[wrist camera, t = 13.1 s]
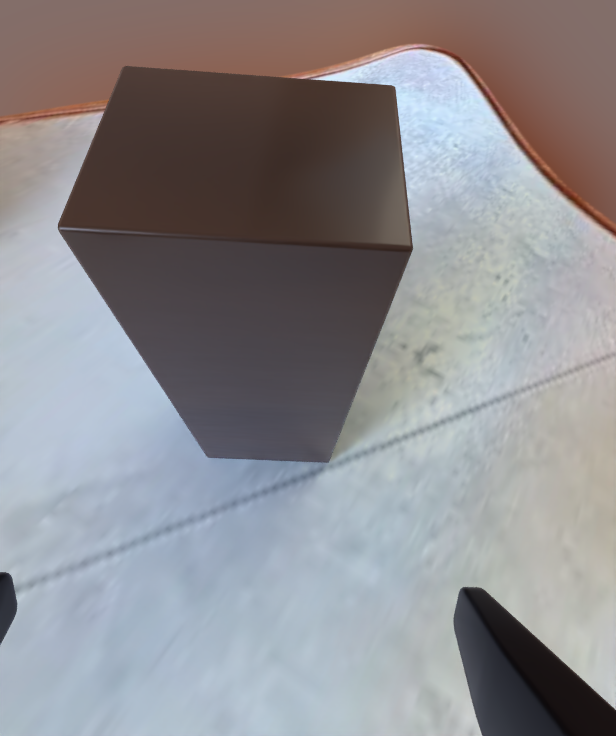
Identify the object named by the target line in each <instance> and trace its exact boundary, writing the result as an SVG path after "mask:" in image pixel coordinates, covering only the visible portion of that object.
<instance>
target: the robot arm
mask: <svg viewBox="0 0 616 736" xmlns="http://www.w3.org/2000/svg"><path fill="white" fill-rule="evenodd" d="M16 611H17V600H16V595H15V590H14V585H13V580H12V577H11V575H10V574H9V573H6V572H0V645H1V643H2V641H3V639H4V637H5V635H6V633H7V631H8V629H9V627H10V625H11V623H12V621H13V619H14V617H15V615H16ZM454 630H455V634H456V638H457V642H458V646H459V650H460V654H461V658H462V662H463V666H464V670H465V674H466V678H467V682H468V686H469V690H470V694H471V699H472V703H473V706H474V710H475V714H476V717H477V720H478V724H479V727H480V730H481V733H482V736H616V710H615V709H614V708H613V707H612V706H611V705H610V704H609V703H608V702H606V701H605V700H604V699H603V698H602V697H601V696H600V695H599V694H598V693H597V692H595V691H594V690H593V689H592V688H591V687H590V686H589V685H588V684H587V683H586V682H585V681H583V680H582V679H581V678H580V677H579V676H578V675H577V674H576V673H575V672H574V671H573V670H571V669H570V668H569V667H568V666H567V665H566V664H565V663H564V662H563V661H562V660H560V659H559V658H558V657H557V656H556V655H555V654H554V653H553V652H552V651H551V650H550V649H548V648H547V647H546V646H545V645H544V644H543V643H542V642H541V641H540V640H539V639H537V638H536V637H535V636H534V635H533V634H532V633H531V632H530V631H529V630H528V629H527V628H525V627H524V626H523V625H522V624H521V623H520V622H519V621H518V620H517V619H516V618H515V617H513V616H512V615H511V614H510V613H509V612H508V611H507V610H506V609H505V608H504V607H502V606H501V605H500V604H499V603H498V602H497V601H496V600H495V599H494V598H493V597H492V596H490V595H489V594H488V593H487V592H486V591H485V590H483V589H482V588H479V587H463V588H461V589H460V591H459V595H458V600H457V604H456V609H455V613H454Z"/></svg>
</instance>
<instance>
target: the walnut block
mask: <svg viewBox="0 0 616 736" xmlns="http://www.w3.org/2000/svg"><path fill="white" fill-rule="evenodd" d="M58 230H59V232H60V234H61V235H62V237H63V238H64V240H65V241H66V243H67V244H68V246H69V247H70V249H71V250H72V252H73V253H74V255H75V256H76V258H77V260H78V261H79V263H80V264H81V266H82V267H83V269H84V270H85V272H86V273H87V275H88V276H89V278H90V279H91V281H92V282H93V284H94V285H95V287H96V288H97V290H98V291H99V293H100V295H101V296H102V298H103V299H104V301H105V302H106V304H107V305H108V307H109V308H110V310H111V311H112V313H113V314H114V316H115V317H116V319H117V320H118V322H119V323H120V325H121V326H122V328H123V330H124V331H125V333H126V334H127V336H128V337H129V339H130V340H131V342H132V343H133V345H134V346H135V348H136V349H137V351H138V352H139V354H140V355H141V357H142V358H143V360H144V361H145V363H146V365H147V366H148V368H149V369H150V371H151V372H152V374H153V375H154V377H155V378H156V380H157V381H158V383H159V384H160V386H161V387H162V389H163V390H164V392H165V393H166V395H167V396H168V398H169V399H170V401H171V403H172V404H173V406H174V407H175V409H176V410H177V412H178V413H179V415H180V416H181V418H182V419H183V421H184V422H185V424H186V425H187V427H188V428H189V430H190V431H191V433H192V434H193V436H194V438H195V439H196V441H197V442H198V444H199V445H200V447H201V448H202V450H203V451H204V453H205V454H206V456H207V457H209V458H232V459H255V460H279V461H302V462H325V463H327V462H329V460H330V458H331V455H332V453H333V450H334V447H335V445H336V442H337V440H338V437H339V435H340V432H341V430H342V427H343V425H344V422H345V420H346V417H347V415H348V412H349V410H350V407H351V404H352V402H353V399H354V397H355V394H356V392H357V389H358V387H359V384H360V382H361V379H362V377H363V374H364V372H365V369H366V367H367V364H368V362H369V359H370V356H371V354H372V351H373V349H374V346H375V344H376V341H377V339H378V336H379V334H380V331H381V329H382V326H383V324H384V321H385V319H386V316H387V314H388V311H389V308H390V306H391V303H392V301H393V298H394V296H395V293H396V291H397V288H398V286H399V283H400V281H401V278H402V276H403V273H404V271H405V268H406V266H407V263H408V260H409V258H410V255H411V253H412V250H413V244H412V235H411V226H410V217H409V208H408V199H407V190H406V181H405V172H404V162H403V153H402V144H401V135H400V126H399V117H398V108H397V99H396V90H395V87H394V86H392V85H380V84H366V83H352V82H338V81H325V80H311V79H297V78H283V77H270V76H256V75H241V74H228V73H213V72H200V71H187V70H173V69H160V68H146V67H132V66H125V67H123V68H122V70H121V72H120V75H119V77H118V80H117V82H116V84H115V87H114V89H113V92H112V94H111V97H110V99H109V101H108V104H107V106H106V109H105V111H104V114H103V116H102V119H101V121H100V123H99V126H98V128H97V131H96V133H95V136H94V138H93V140H92V143H91V145H90V148H89V150H88V153H87V155H86V158H85V160H84V162H83V165H82V167H81V170H80V172H79V175H78V177H77V179H76V182H75V184H74V187H73V189H72V192H71V194H70V196H69V199H68V201H67V204H66V206H65V209H64V211H63V214H62V216H61V218H60V221H59V223H58Z"/></svg>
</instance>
